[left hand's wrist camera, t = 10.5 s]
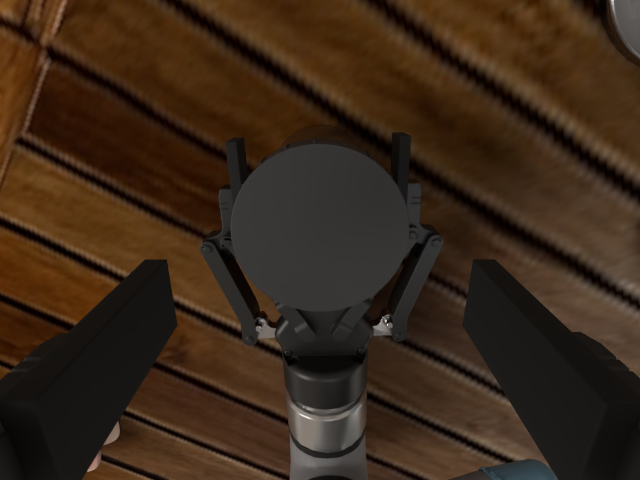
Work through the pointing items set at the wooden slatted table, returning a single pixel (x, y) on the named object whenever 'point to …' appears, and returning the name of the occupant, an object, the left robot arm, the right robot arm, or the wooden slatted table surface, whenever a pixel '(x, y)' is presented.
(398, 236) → the lid
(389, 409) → the wooden slatted table surface
